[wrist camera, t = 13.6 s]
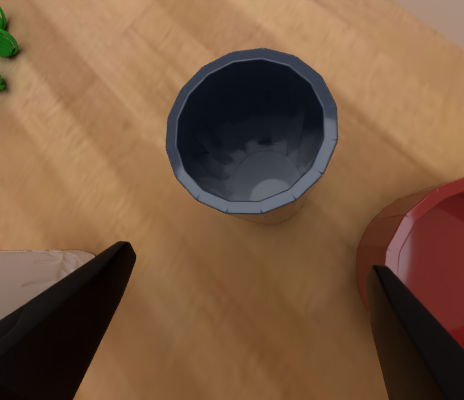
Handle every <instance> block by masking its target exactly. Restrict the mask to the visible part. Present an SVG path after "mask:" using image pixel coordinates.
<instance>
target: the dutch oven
mask: <svg viewBox="0 0 464 400" xmlns="http://www.w3.org/2000/svg"><path fill="white" fill-rule="evenodd" d="M374 264H376V265H385V266H387V267H389V268H390V269H391V270H392V271H393V273H394V274H395V275H396V276H397V277H398V278H399V279H400V280H401V281H402V282H403V283H404V284H405V286H406V287H407V288H408V289H409V290H410V291H411V292H412V293H413V294H414V295H415V296H416V298H417V299H418V300H419V301H420V302H421V303H422V304H423V305H424V306H425V307H426V308H427V309H428V311H429V312H430V313H431V314H432V315H433V316H434V317H435V318H436V319H437V320H438V321H439V323H440V324H441V325H442V326H443V327H444V328H445V329H446V330H447V331H448V332H449V333H450V334H451V336H452V337H453V338H454V339H455V340H456V341H457V342H458V343H459V344H460V345H461V346H462V348H463V349H464V177H461V178H458V179H455V180H452V181H449V182H446V183H443V184H439V185H436V186H433V187H430V188H427V189H424V190H421V191H419V192H416V193H413V194H410V195H407V196H405V197H402V198H400V199H397V200H396V201H394V202H393V203H392V204H390V205H388V206H387V207H386V208H384V209H383V210H382V211H381V212H380V213H379V214H378V215H377V216H376V217H375V218H374V219H373V220H372V221H371V223H370V224H369V226H368V227H367V229H366V230H365V232H364V234H363V236H362V238H361V241H360V244H359V247H358V252H357V257H356V277H357V283H358V287H359V292H360V294H361V297H362V300H363V302H364V304H365V306H366V308H367V310H368V312H369V314H370V311H369V303H368V295H367V288H366V280H367V277H368V274H369V272H370V269H371V267H372V265H374Z"/></svg>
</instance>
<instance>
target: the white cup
mask: <svg viewBox="0 0 464 400" xmlns="http://www.w3.org/2000/svg"><path fill="white" fill-rule="evenodd" d="M94 257H95V256H94V255H93V254H91V253H88V252H84V251H81V250H66V251H59V250H0V320H1V319H2V318H4V317H5V316H7V315H9V314H10V313H12V312H13V311H15V310H16V309H18V308H19V307H21V306H22V305H25V304H26V303H27V302H28V301H30V300H31V299H33V298H34V297H36V296H37V295H39V294H40V293H42V292H43V291H45V290H46V289H48V288H49V287H51V286H52V285H54V284H55V283H57V282H58V281H60V280H61V279H63V278H64V277H66V276H67V275H69V274H70V273H72V272H73V271H75V270H76V269H78V268H79V267H81V266H82V265H84V264H85V263H87V262H88V261H90V260H91V259H93V258H94Z"/></svg>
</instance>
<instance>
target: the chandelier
mask: <svg viewBox="0 0 464 400" xmlns="http://www.w3.org/2000/svg"><path fill="white" fill-rule="evenodd" d="M0 13H1V16H2V19H1V18H0V56H1V57H7V56H12V55H14V54H16V53H17V50H18V46H17V42H16V41H15V39H14V38H13V37H12V36H11V35H10V34H9V33H7V32H6V31H4V29H5V27H6V18H5V15H4V12H3V11H2V9H1V8H0ZM1 34H2V35H1ZM3 35H4V36H6V37H7V38H8V39H9V40H8V39H7V38H5V37H4V36H3ZM10 40H11V41H12V43H13V44H14V46H15V48H14V49H13V44H12V43H11V41H10ZM2 48H3V49H2ZM1 81H2V78H1V76H0V90H3V89H4V87H5V86H4V85H3V84H2V83H1Z"/></svg>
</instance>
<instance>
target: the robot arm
mask: <svg viewBox="0 0 464 400" xmlns="http://www.w3.org/2000/svg"><path fill="white" fill-rule="evenodd" d="M135 261H136V254H135V252H134V250H133V248H132V246H131V244H130V243H129V242H126V241H119V242H117V243H115V244H114V245H112V246H111V247H109V248H108V249H106V250H105V251H103V252H102V253H100V254H99V255H97V256H96V257H94V258H93V259H91V260H90V261H88V262H87V263H85V264H84V265H82V266H81V267H79V268H78V269H76V270H75V271H73V272H72V273H70V274H69V275H67V276H66V277H64V278H63V279H61V280H60V281H58V282H57V283H55V284H54V285H52V286H51V287H49V288H48V289H46V290H45V291H43V292H42V293H40V294H39V295H37V296H36V297H34V298H33V299H31V300H30V301H28V302H27V303H26V304H25V305H22V306H21V307H19V308H18V309H16V310H15V311H13V312H12V313H10V314H9V315H7V316H5V317H4V318H2V319H1V320H0V400H73V398H74V396H75V394H76V392H77V390H78V388H79V386H80V384H81V382H82V380H83V378H84V376H85V373H86V371H87V369H88V367H89V365H90V363H91V361H92V359H93V357H94V355H95V353H96V351H97V348H98V346H99V344H100V342H101V340H102V338H103V336H104V334H105V332H106V330H107V328H108V326H109V324H110V321H111V319H112V317H113V315H114V313H115V311H116V309H117V307H118V305H119V303H120V301H121V298H122V296H123V294H124V291H125V289H126V286H127V283H128V281H129V278H130V275H131V272H132V270H133V267H134V264H135ZM366 288H367V295H368V303H369V311H370V319H371V326H372V332H373V337H374V341H375V345H376V349H377V353H378V357H379V361H380V365H381V369H382V373H383V377H384V381H385V385H386V390H387V394H388V398H389V400H464V349H463V348H462V346H461V345H460V344H459V343H458V342H457V341H456V340H455V339H454V338H453V337H452V336H451V334H450V333H449V332H448V331H447V330H446V329H445V328H444V327H443V326H442V325H441V324H440V323H439V321H438V320H437V319H436V318H435V317H434V316H433V315H432V314H431V313H430V312H429V311H428V309H427V308H426V307H425V306H424V305H423V304H422V303H421V302H420V301H419V300H418V299H417V298H416V296H415V295H414V294H413V293H412V292H411V291H410V290H409V289H408V288H407V287H406V286H405V284H404V283H403V282H402V281H401V280H400V279H399V278H398V277H397V276H396V275H395V274H394V273H393V271H392V270H391V269H390V268H389V267H387V266H385V265H376V264H374V265H372V267H371V269H370V272H369V274H368V277H367V280H366Z"/></svg>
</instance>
